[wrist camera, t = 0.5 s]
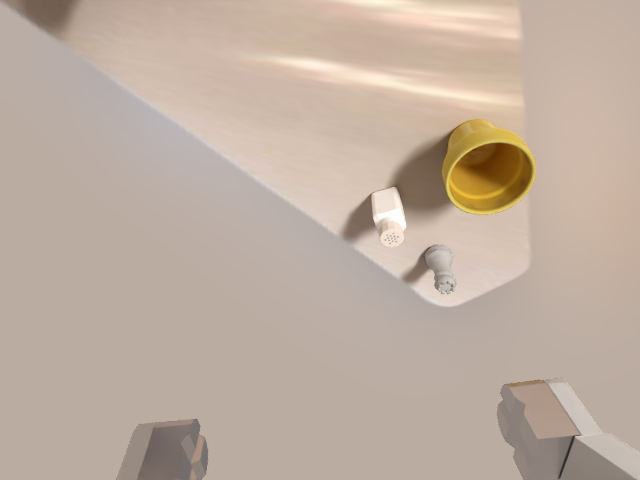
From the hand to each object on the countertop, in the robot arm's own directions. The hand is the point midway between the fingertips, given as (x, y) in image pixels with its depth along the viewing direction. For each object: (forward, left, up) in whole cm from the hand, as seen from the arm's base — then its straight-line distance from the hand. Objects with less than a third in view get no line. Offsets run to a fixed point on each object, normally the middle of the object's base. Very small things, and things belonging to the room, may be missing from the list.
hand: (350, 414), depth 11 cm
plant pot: (0, +23, -48) cm, 53 cm away
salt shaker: (+14, +21, -48) cm, 54 cm away
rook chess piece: (+16, +35, -48) cm, 62 cm away
